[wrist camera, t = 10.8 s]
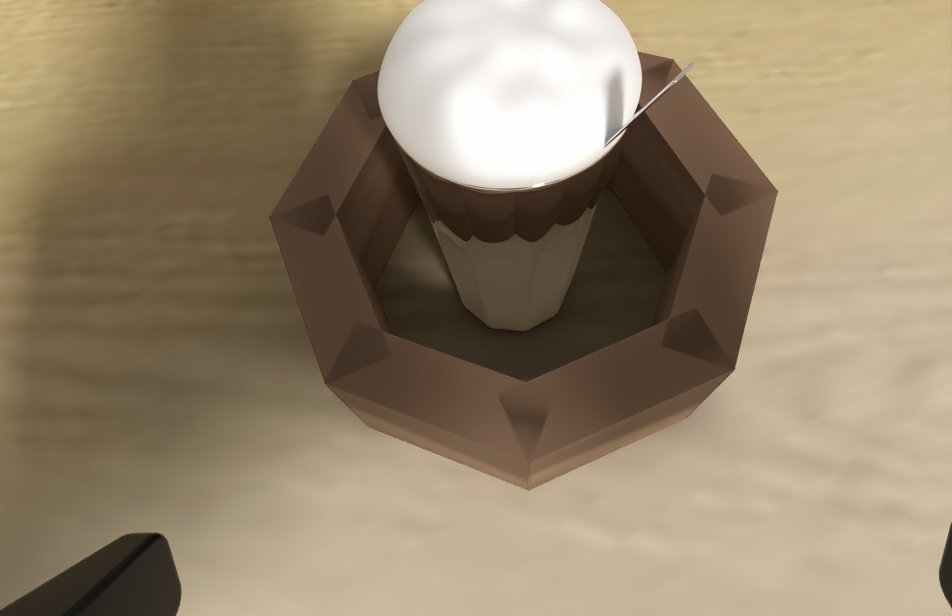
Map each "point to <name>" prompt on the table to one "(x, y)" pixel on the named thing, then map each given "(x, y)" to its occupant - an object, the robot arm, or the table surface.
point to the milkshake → (511, 138)
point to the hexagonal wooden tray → (570, 386)
